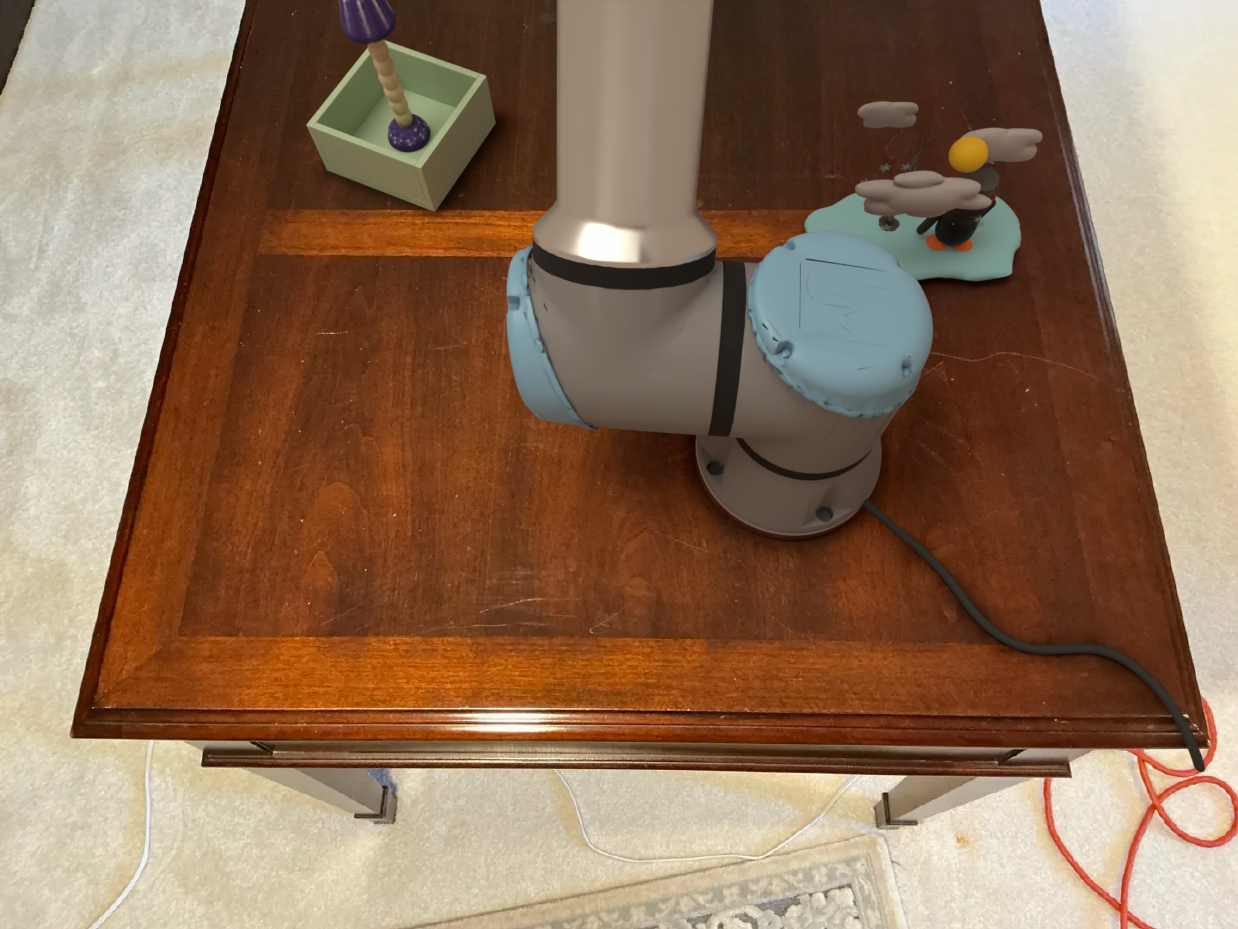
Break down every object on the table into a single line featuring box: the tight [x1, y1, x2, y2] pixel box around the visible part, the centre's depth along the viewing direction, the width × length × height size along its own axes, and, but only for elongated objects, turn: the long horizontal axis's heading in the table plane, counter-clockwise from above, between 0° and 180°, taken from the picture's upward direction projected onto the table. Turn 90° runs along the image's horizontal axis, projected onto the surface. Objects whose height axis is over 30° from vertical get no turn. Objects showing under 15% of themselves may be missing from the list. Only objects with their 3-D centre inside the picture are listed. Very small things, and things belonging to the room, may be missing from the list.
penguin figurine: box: [804, 100, 1043, 282], centre depth 73 cm, size 20×11×15 cm, turn 90°
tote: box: [306, 39, 497, 213], centre depth 83 cm, size 12×12×6 cm
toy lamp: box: [338, 0, 430, 152], centre depth 77 cm, size 5×5×17 cm
